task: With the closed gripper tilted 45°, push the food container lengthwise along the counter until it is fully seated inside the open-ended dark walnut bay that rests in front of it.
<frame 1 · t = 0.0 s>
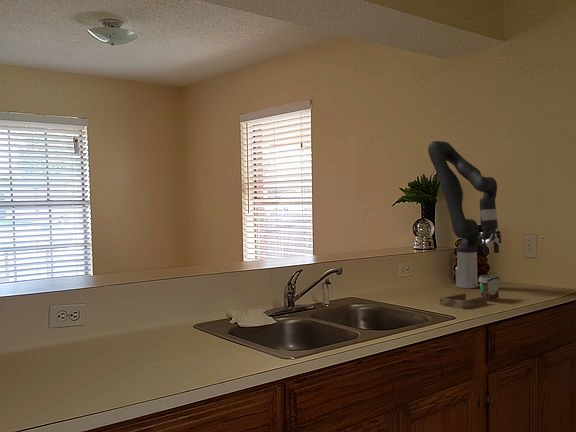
hand: (491, 253, 252), 17 cm above the worktop, tool pointing down, fingers open, 8 cm apart
food container: (486, 299, 230), on the worktop
bay: (464, 304, 220), on the worktop
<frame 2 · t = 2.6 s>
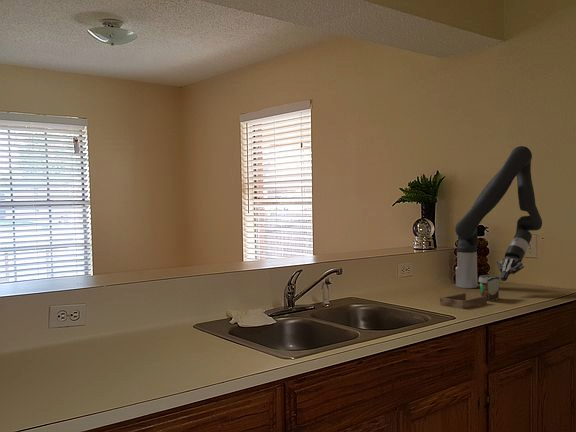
hand: (502, 279, 236), 7 cm above the worktop, tool tilted 45°, fingers closed
nothing on the worktop moved.
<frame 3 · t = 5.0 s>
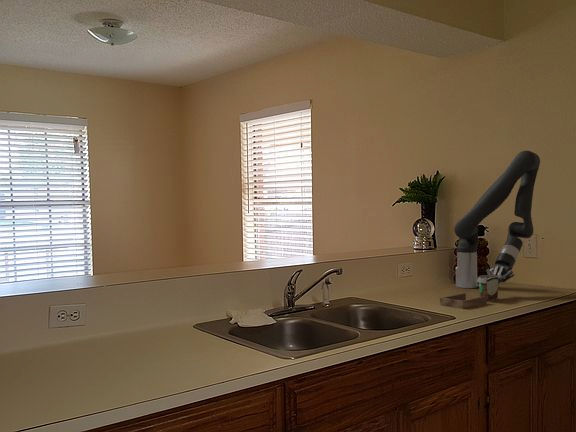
hand: (492, 288, 231), 4 cm above the worktop, tool tilted 45°, fingers closed
food container: (486, 300, 229), on the worktop, touching gripper
everything else where it was.
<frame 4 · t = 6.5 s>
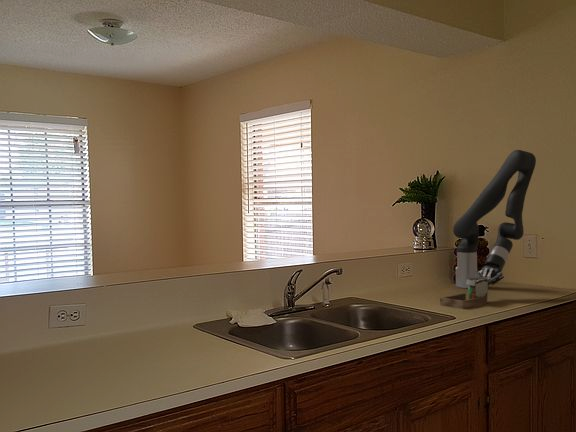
hand: (481, 290, 226), 4 cm above the worktop, tool tilted 45°, fingers closed
food container: (475, 302, 223), on the worktop, touching gripper
everything else where it was.
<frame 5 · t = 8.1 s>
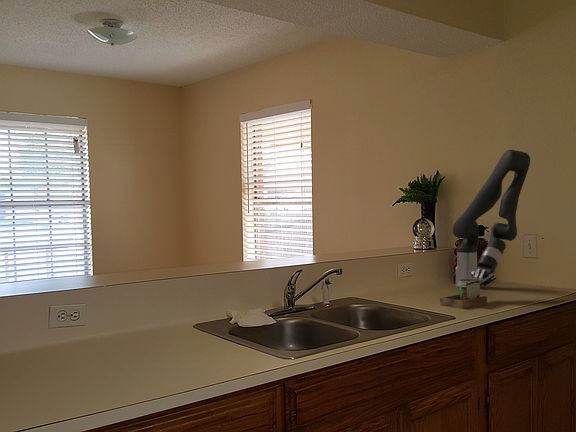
hand: (473, 291, 223), 4 cm above the worktop, tool tilted 45°, fingers closed
food container: (466, 304, 221), on the worktop
everything else where it was.
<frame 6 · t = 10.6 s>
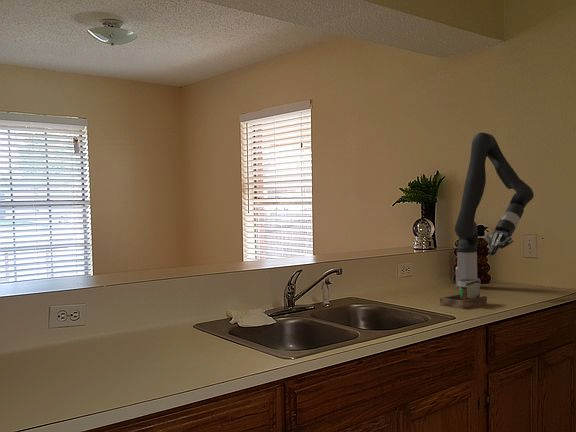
hand: (490, 254, 233), 19 cm above the worktop, tool tilted 45°, fingers closed
nothing on the worktop moved.
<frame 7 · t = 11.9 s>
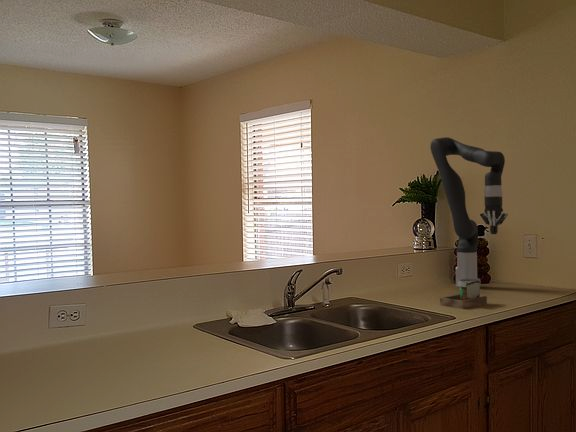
hand: (494, 234, 241), 27 cm above the worktop, tool pointing down, fingers closed
nothing on the worktop moved.
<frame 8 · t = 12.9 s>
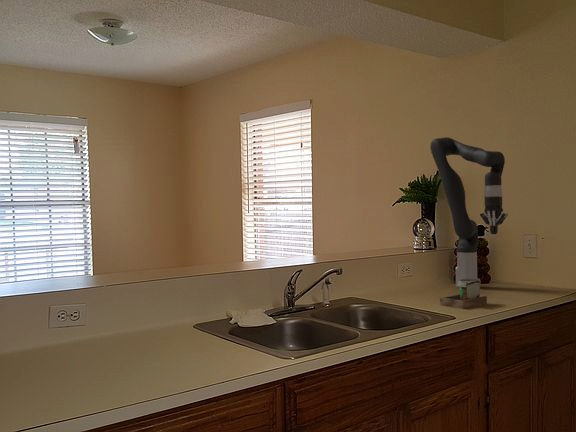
hand: (494, 234, 241), 27 cm above the worktop, tool pointing down, fingers closed
nothing on the worktop moved.
at the end: food container 2.0 cm off-centre on the bay, point 0.0 cm above the bay's base; food container tilted 0°; bay moved 0.0 cm from its start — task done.
